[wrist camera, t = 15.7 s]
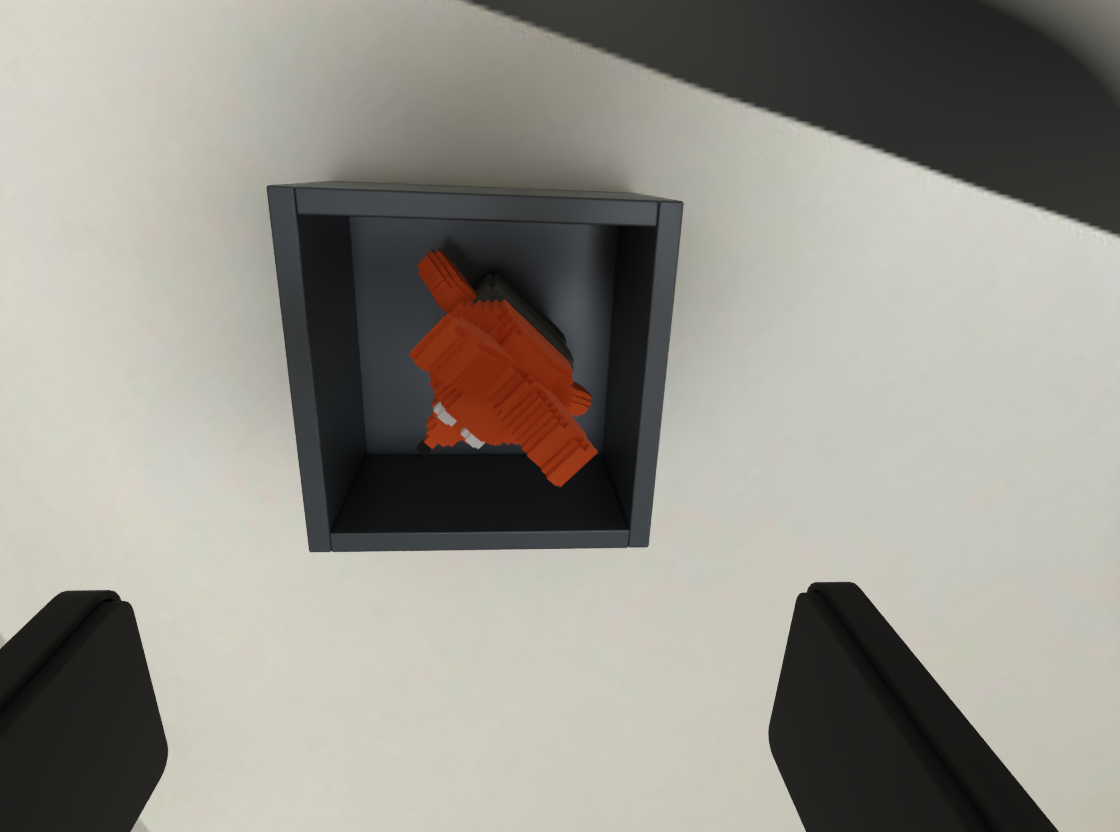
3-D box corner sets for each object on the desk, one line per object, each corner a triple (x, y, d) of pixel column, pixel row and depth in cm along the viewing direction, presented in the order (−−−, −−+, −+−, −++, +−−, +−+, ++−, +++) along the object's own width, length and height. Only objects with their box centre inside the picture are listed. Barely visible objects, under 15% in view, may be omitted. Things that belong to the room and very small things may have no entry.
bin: (635, 193, 27) (684, 201, 20) (614, 461, 32) (648, 548, 24) (330, 181, 26) (265, 185, 19) (354, 461, 30) (308, 553, 23)
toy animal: (371, 313, 27) (282, 413, 16) (458, 220, 26) (427, 256, 15) (507, 433, 30) (511, 590, 19) (591, 351, 29) (649, 466, 18)
